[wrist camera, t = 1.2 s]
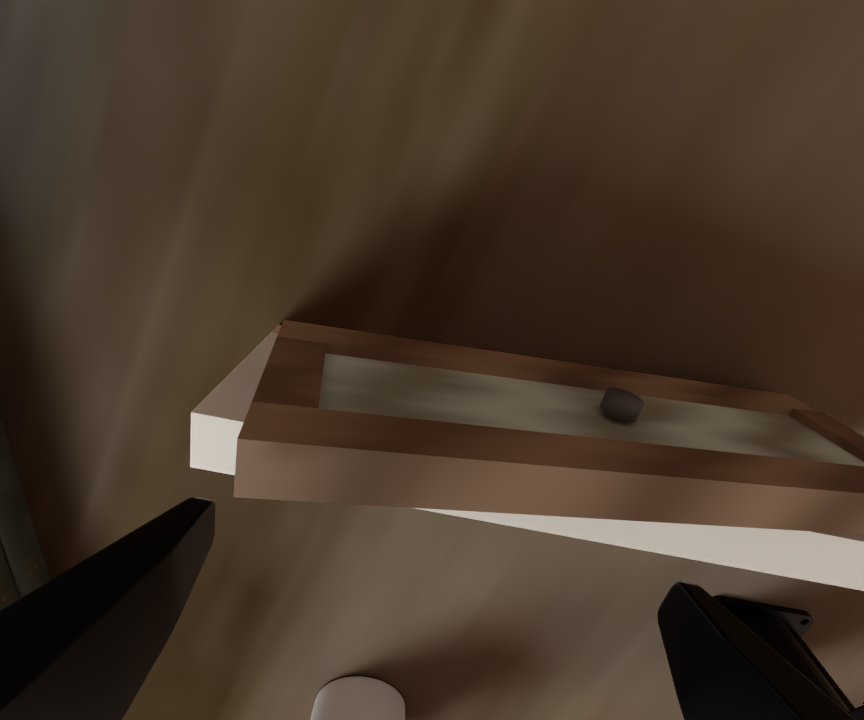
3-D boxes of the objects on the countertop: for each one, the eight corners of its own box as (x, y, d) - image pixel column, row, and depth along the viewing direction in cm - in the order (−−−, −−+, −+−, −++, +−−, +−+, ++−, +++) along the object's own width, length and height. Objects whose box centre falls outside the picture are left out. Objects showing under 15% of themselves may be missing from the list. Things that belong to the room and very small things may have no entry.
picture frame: (795, 386, 20) (992, 492, 14) (773, 422, 21) (951, 539, 15) (284, 307, 15) (238, 419, 9) (279, 359, 16) (233, 497, 10)
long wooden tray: (801, 434, 23) (976, 563, 15) (743, 525, 25) (871, 676, 18) (278, 324, 21) (190, 412, 13) (268, 434, 23) (188, 560, 16)
